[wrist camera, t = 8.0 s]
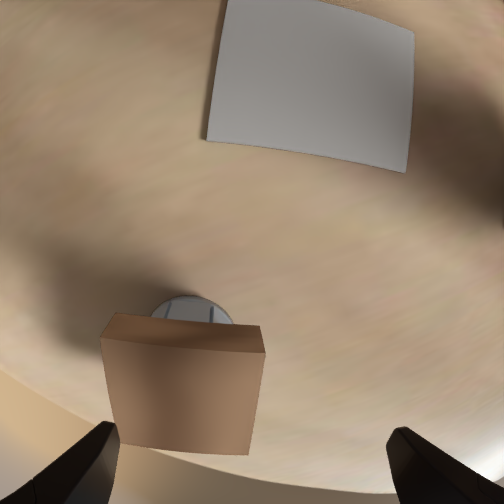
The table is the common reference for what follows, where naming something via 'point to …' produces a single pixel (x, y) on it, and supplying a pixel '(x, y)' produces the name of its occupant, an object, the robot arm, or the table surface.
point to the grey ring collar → (192, 310)
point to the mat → (314, 82)
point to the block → (183, 383)
